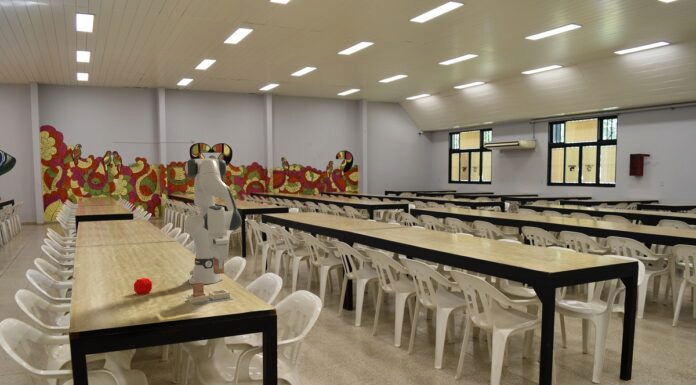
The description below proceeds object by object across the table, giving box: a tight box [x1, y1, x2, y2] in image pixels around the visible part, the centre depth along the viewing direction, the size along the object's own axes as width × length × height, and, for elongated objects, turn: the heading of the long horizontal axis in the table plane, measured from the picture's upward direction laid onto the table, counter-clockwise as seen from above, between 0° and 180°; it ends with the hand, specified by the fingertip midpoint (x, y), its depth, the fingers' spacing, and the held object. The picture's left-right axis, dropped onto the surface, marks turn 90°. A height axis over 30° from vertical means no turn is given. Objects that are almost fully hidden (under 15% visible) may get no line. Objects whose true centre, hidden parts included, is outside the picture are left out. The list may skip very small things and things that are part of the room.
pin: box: [192, 282, 205, 297], centre depth 234 cm, size 4×4×8 cm
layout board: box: [185, 289, 234, 306], centre depth 236 cm, size 18×18×4 cm
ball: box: [133, 277, 153, 296], centre depth 256 cm, size 8×8×8 cm
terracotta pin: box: [213, 257, 225, 275], centre depth 238 cm, size 4×4×8 cm
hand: (218, 267), depth 238 cm, fingers closed on terracotta pin, 4 cm apart
